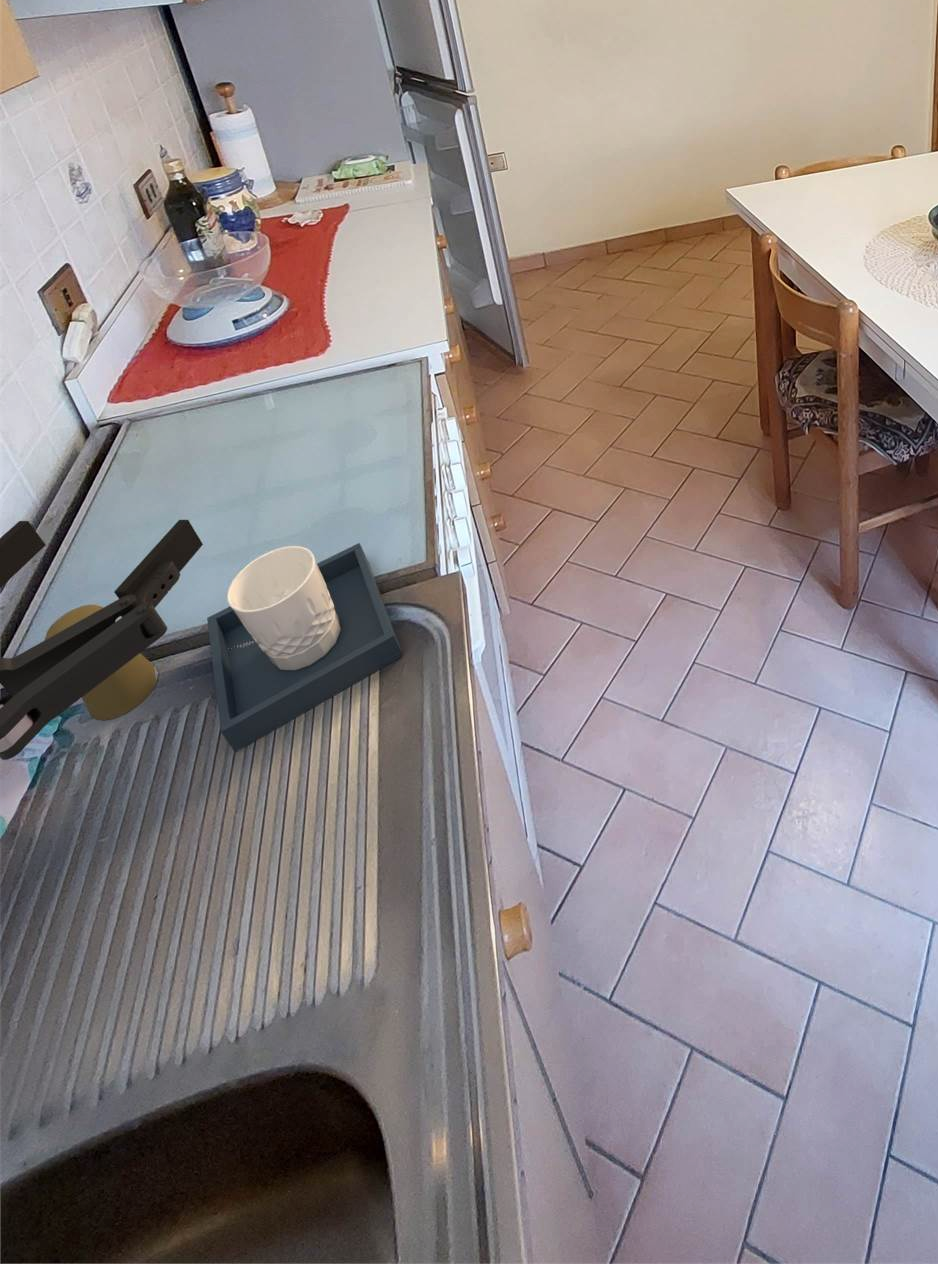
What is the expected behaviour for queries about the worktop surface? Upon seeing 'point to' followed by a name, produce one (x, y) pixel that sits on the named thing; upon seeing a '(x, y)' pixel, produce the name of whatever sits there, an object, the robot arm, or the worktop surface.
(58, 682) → the robot arm
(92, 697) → the cork
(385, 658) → the shallow grey tray
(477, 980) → the worktop surface
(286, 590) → the white cup
